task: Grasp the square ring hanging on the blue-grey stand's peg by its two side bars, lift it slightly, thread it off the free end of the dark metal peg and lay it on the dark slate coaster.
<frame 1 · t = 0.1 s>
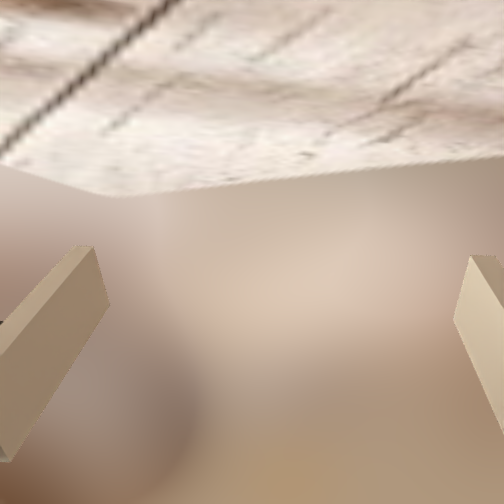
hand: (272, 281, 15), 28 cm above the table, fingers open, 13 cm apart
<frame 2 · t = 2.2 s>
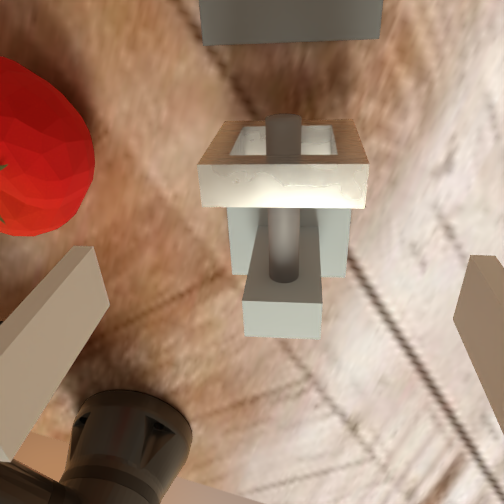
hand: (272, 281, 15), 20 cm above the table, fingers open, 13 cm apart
stand: (288, 230, 37), on the table
tomato: (48, 130, 35), on the table
square ring: (287, 137, 30), point 2 cm above the table, touching stand
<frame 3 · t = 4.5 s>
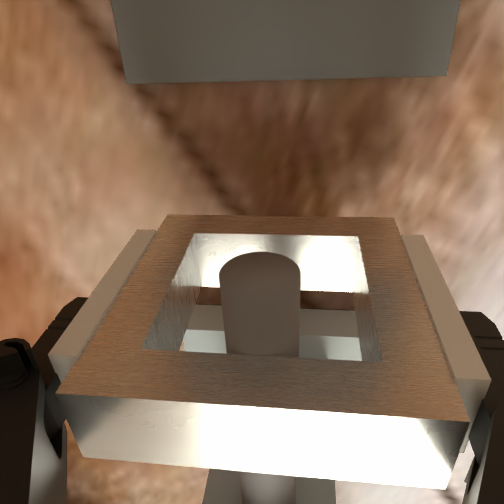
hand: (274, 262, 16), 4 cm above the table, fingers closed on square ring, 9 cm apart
stand: (281, 355, 24), on the table
square ring: (277, 243, 17), point 3 cm above the table, touching gripper, stand
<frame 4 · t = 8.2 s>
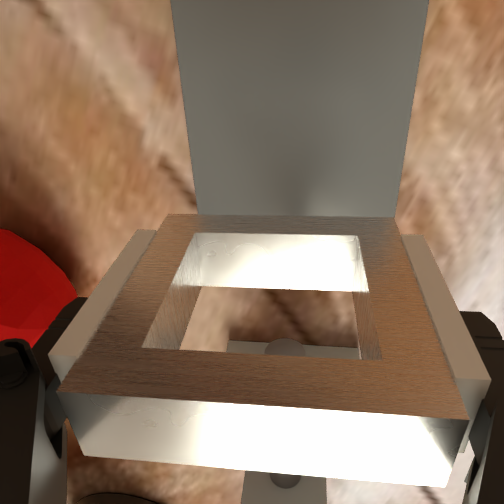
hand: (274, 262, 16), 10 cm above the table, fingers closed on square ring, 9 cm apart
stand: (292, 374, 34), on the table
tomato: (33, 274, 32), on the table
coaster: (294, 114, 23), on the table
square ring: (277, 242, 17), point 9 cm above the table, touching gripper
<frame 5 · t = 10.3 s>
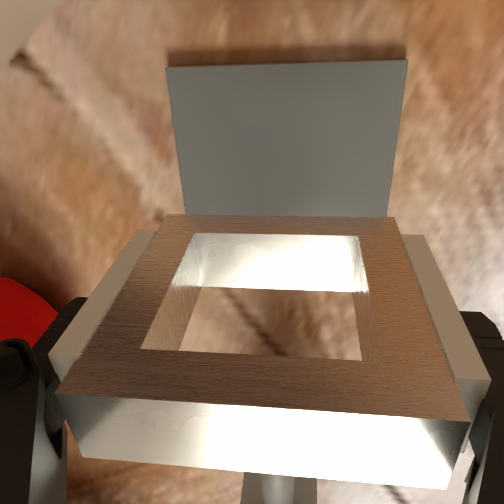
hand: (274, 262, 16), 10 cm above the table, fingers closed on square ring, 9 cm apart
stand: (284, 410, 35), on the table
tomato: (31, 317, 33), on the table
coaster: (283, 174, 24), on the table
square ring: (277, 242, 17), point 8 cm above the table, touching gripper
when the fingers open (4 cm above the table, at t = 12.1 s): square ring drops 2 cm, resting on coaster.
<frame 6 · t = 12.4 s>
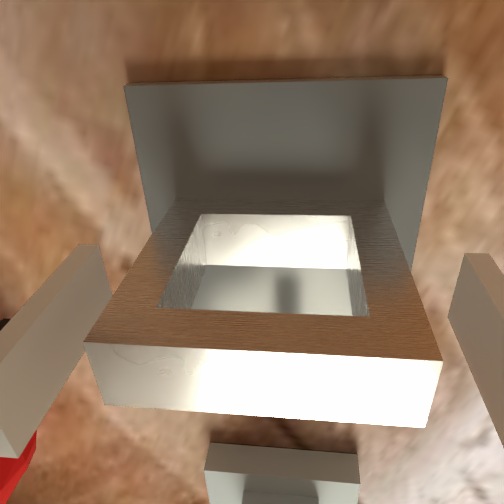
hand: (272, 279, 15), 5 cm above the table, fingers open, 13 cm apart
stand: (282, 477, 30), on the table
coaster: (280, 218, 19), on the table
square ring: (277, 224, 19), point 1 cm above the table, touching coaster
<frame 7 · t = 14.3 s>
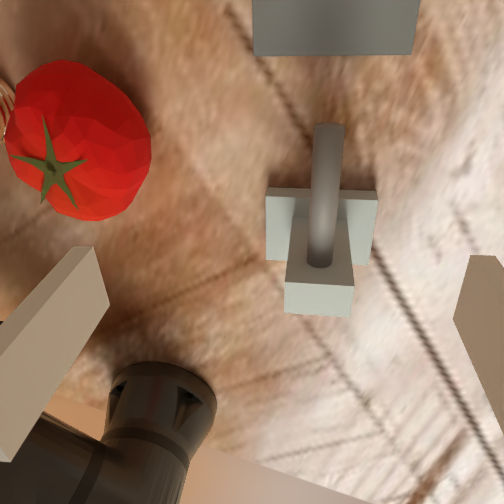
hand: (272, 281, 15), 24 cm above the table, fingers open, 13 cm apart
stand: (318, 221, 41), on the table
tomato: (107, 126, 39), on the table
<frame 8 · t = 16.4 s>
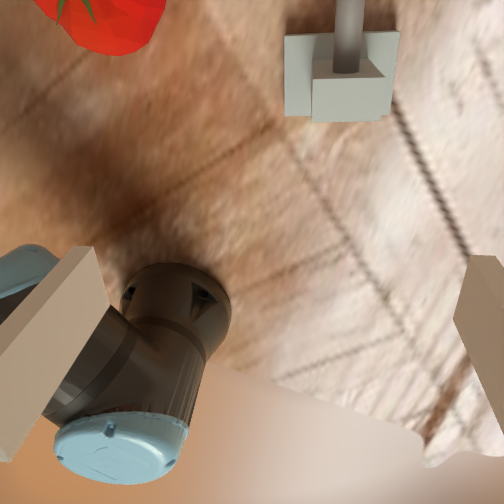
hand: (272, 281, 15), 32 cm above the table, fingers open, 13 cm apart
stand: (337, 73, 40), on the table
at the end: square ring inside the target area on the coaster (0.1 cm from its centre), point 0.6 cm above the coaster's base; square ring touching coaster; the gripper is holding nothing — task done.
